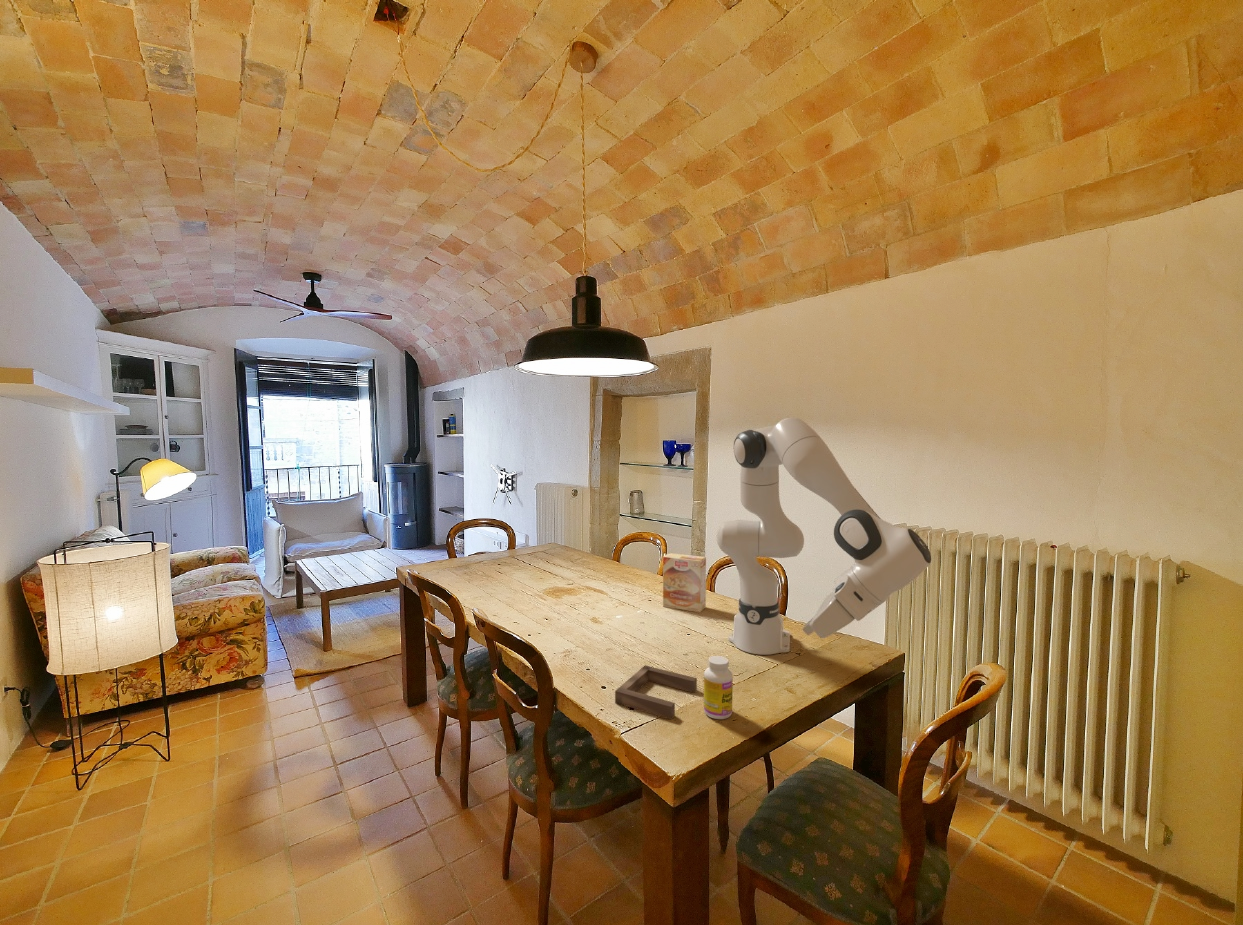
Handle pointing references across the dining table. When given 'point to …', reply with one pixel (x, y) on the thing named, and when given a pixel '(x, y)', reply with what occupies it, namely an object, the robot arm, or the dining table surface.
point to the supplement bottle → (718, 688)
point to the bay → (650, 704)
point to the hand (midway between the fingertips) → (806, 630)
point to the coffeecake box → (684, 582)
